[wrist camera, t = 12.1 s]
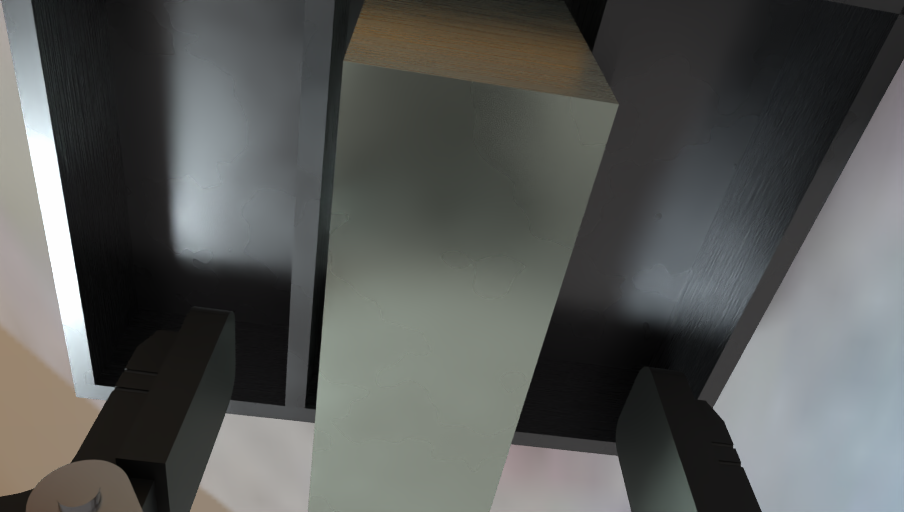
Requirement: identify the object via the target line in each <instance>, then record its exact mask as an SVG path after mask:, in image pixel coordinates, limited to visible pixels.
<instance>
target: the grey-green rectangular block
mask: <svg viewBox="0 0 904 512" xmlns="http://www.w3.org/2000/svg"><path fill="white" fill-rule="evenodd" d="M618 106H619V103H618V102H617V100H616V98H615V96H614V94H613V92H612V90H611V88H610V87H609V85H608V83H607V81H606V79H605V77H604V75H603V73H602V72H601V70H600V68H599V66H598V64H597V62H596V60H595V58H594V56H593V55H592V53H591V51H590V49H589V47H588V45H587V43H586V41H585V40H584V38H583V36H582V34H581V32H580V30H579V28H578V26H577V25H576V23H575V21H574V19H573V17H572V15H571V13H570V11H569V10H568V8H567V6H566V4H565V2H564V0H365V1H364V4H363V7H362V9H361V12H360V15H359V18H358V21H357V24H356V26H355V29H354V32H353V35H352V38H351V40H350V43H349V46H348V49H347V52H346V55H345V57H344V60H343V70H342V83H341V95H340V108H339V121H338V134H337V147H336V159H335V172H334V185H333V198H332V211H331V223H330V236H329V249H328V262H327V274H326V287H325V300H324V313H323V326H322V338H321V351H320V364H319V377H318V389H317V402H316V415H315V428H314V441H313V453H312V466H311V479H310V492H309V504H308V512H490V508H491V505H492V502H493V499H494V496H495V493H496V490H497V486H498V483H499V480H500V477H501V474H502V471H503V468H504V464H505V461H506V458H507V455H508V452H509V449H510V445H511V442H512V439H513V436H514V433H515V430H516V427H517V423H518V420H519V417H520V414H521V411H522V408H523V405H524V401H525V398H526V395H527V392H528V389H529V386H530V383H531V379H532V376H533V373H534V370H535V367H536V364H537V361H538V357H539V354H540V351H541V348H542V345H543V342H544V339H545V335H546V332H547V329H548V326H549V323H550V320H551V317H552V313H553V310H554V307H555V304H556V301H557V298H558V294H559V291H560V288H561V285H562V282H563V279H564V276H565V272H566V269H567V266H568V263H569V260H570V257H571V254H572V250H573V247H574V244H575V241H576V238H577V235H578V232H579V228H580V225H581V222H582V219H583V216H584V213H585V210H586V206H587V203H588V200H589V197H590V194H591V191H592V188H593V184H594V181H595V178H596V175H597V172H598V169H599V166H600V162H601V159H602V156H603V153H604V150H605V147H606V143H607V140H608V137H609V134H610V131H611V128H612V125H613V121H614V118H615V115H616V112H617V109H618Z"/></svg>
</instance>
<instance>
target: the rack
mask: <svg viewBox="0 0 904 512" xmlns="http://www.w3.org/2000/svg"><path fill="white" fill-rule="evenodd" d="M1 1H2V6H3V12H4V17H5V22H6V27H7V33H8V38H9V43H10V49H11V54H12V59H13V64H14V70H15V75H16V80H17V86H18V91H19V96H20V101H21V107H22V112H23V117H24V123H25V128H26V133H27V138H28V144H29V149H30V154H31V160H32V165H33V170H34V175H35V181H36V186H37V191H38V197H39V202H40V207H41V212H42V218H43V223H44V228H45V234H46V239H47V244H48V249H49V255H50V260H51V265H52V270H53V276H54V281H55V286H56V292H57V297H58V302H59V307H60V313H61V318H62V323H63V329H64V334H65V339H66V344H67V350H68V355H69V360H70V366H71V371H72V376H73V381H74V387H75V392H76V397H81V398H90V399H100V400H107V399H108V397H109V396H110V394H111V392H112V391H114V389H115V385H116V383H117V381H118V380H119V378H120V376H121V374H122V373H124V371H125V367H126V365H127V364H128V362H129V360H130V358H131V357H132V355H133V353H134V351H135V349H136V348H137V347H138V346H139V345H140V344H141V343H143V342H144V341H145V340H146V339H148V338H149V337H150V336H152V335H153V334H154V333H155V332H157V331H158V330H166V331H174V332H179V330H180V328H181V326H182V324H183V322H184V320H185V318H186V316H187V314H188V312H189V311H190V309H191V308H192V307H194V306H196V307H203V308H211V309H219V310H226V311H233V312H234V315H235V380H234V386H233V391H232V395H231V399H230V402H229V405H228V408H227V411H226V413H229V414H238V415H247V416H256V417H266V418H275V419H284V420H293V421H302V422H312V423H315V415H316V402H317V389H318V377H319V364H320V351H321V338H322V326H323V313H324V300H325V287H326V274H327V262H328V249H329V236H330V223H331V211H332V198H333V185H334V172H335V159H336V147H337V134H338V121H339V108H340V95H341V83H342V70H343V60H344V57H345V55H346V52H347V49H348V46H349V43H350V40H351V38H352V35H353V32H354V29H355V26H356V24H357V21H358V18H359V15H360V12H361V9H362V7H363V4H364V1H365V0H1ZM564 2H565V4H566V6H567V8H568V10H569V11H570V13H571V15H572V17H573V19H574V21H575V23H576V25H577V26H578V28H579V30H580V32H581V34H582V36H583V38H584V40H585V41H586V43H587V45H588V47H589V49H590V51H591V53H592V55H593V56H594V58H595V60H596V62H597V64H598V66H599V68H600V70H601V72H602V73H603V75H604V77H605V79H606V81H607V83H608V85H609V87H610V88H611V90H612V92H613V94H614V96H615V98H616V100H617V102H618V103H619V106H618V109H617V112H616V115H615V118H614V121H613V125H612V128H611V131H610V134H609V137H608V140H607V143H606V147H605V150H604V153H603V156H602V159H601V162H600V166H599V169H598V172H597V175H596V178H595V181H594V184H593V188H592V191H591V194H590V197H589V200H588V203H587V206H586V210H585V213H584V216H583V219H582V222H581V225H580V228H579V232H578V235H577V238H576V241H575V244H574V247H573V250H572V254H571V257H570V260H569V263H568V266H567V269H566V272H565V276H564V279H563V282H562V285H561V288H560V291H559V294H558V298H557V301H556V304H555V307H554V310H553V313H552V317H551V320H550V323H549V326H548V329H547V332H546V335H545V339H544V342H543V345H542V348H541V351H540V354H539V357H538V361H537V364H536V367H535V370H534V373H533V376H532V379H531V383H530V386H529V389H528V392H527V395H526V398H525V401H524V405H523V408H522V411H521V414H520V417H519V420H518V423H517V427H516V430H515V433H514V436H513V439H512V442H511V444H514V445H524V446H533V447H542V448H551V449H561V450H570V451H579V452H588V453H597V454H607V455H616V456H618V453H617V449H616V428H617V423H618V419H619V416H620V414H621V412H622V410H623V407H624V405H625V403H626V400H627V398H628V396H629V394H630V391H631V389H632V387H633V384H634V382H635V380H636V378H637V375H638V373H639V371H640V370H641V369H642V368H643V367H652V368H660V369H668V370H675V371H681V372H683V373H684V375H685V376H686V378H687V381H688V383H689V386H690V388H691V391H692V394H693V396H694V399H698V400H705V401H707V403H708V404H709V405H710V406H711V407H712V408H713V406H714V405H715V403H716V401H717V399H718V397H719V395H720V394H721V392H722V390H723V388H724V386H725V384H726V383H727V381H728V379H729V377H730V375H731V373H732V372H733V370H734V368H735V366H736V364H737V363H738V361H739V359H740V357H741V355H742V353H743V352H744V350H745V348H746V346H747V344H748V342H749V341H750V339H751V337H752V335H753V333H754V331H755V330H756V328H757V326H758V324H759V322H760V320H761V319H762V317H763V315H764V313H765V311H766V309H767V308H768V306H769V304H770V302H771V300H772V299H773V297H774V295H775V293H776V291H777V289H778V288H779V286H780V284H781V282H782V280H783V278H784V277H785V275H786V273H787V271H788V269H789V267H790V266H791V264H792V262H793V260H794V258H795V256H796V255H797V253H798V251H799V249H800V247H801V246H802V244H803V242H804V240H805V238H806V236H807V235H808V233H809V231H810V229H811V227H812V225H813V224H814V222H815V220H816V218H817V216H818V214H819V213H820V211H821V209H822V207H823V205H824V203H825V202H826V200H827V198H828V196H829V194H830V192H831V191H832V189H833V187H834V185H835V183H836V182H837V180H838V178H839V176H840V174H841V172H842V171H843V169H844V167H845V165H846V163H847V161H848V160H849V158H850V156H851V154H852V152H853V150H854V149H855V147H856V145H857V143H858V141H859V139H860V138H861V136H862V134H863V132H864V130H865V129H866V127H867V125H868V123H869V121H870V119H871V118H872V116H873V114H874V112H875V110H876V108H877V107H878V105H879V103H880V101H881V99H882V97H883V96H884V94H885V92H886V90H887V88H888V86H889V85H890V83H891V81H892V79H893V77H894V75H895V74H896V72H897V70H898V68H899V66H900V65H901V63H902V61H903V59H904V0H564Z"/></svg>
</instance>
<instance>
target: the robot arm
mask: <svg viewBox="0 0 904 512" xmlns="http://www.w3.org/2000/svg"><path fill="white" fill-rule="evenodd" d="M234 380H235V315H234V312H233V311H226V310H219V309H211V308H203V307H196V306H194V307H192V308H191V309H190V311H189V312H188V314H187V316H186V318H185V320H184V322H183V324H182V326H181V328H180V330H179V332H174V331H166V330H158V331H157V332H155V333H154V334H153V335H152V336H150V337H149V338H148V339H146V340H145V341H144V342H143V343H141V344H140V345H139V346H138V347H137V348H136V349H135V351H134V353H133V355H132V357H131V358H130V360H129V362H128V364H127V365H126V367H125V371H124V373H122V374H121V376H120V378H119V380H118V381H117V383H116V385H115V389H114V391H112V392H111V394H110V396H109V397H108V399H107V401H106V403H105V404H104V406H103V408H102V410H101V412H100V413H99V415H98V417H97V419H96V421H95V422H94V424H93V426H92V428H91V429H90V431H89V433H88V435H87V436H86V438H85V440H84V442H83V444H82V445H81V447H80V449H79V451H78V452H77V454H76V456H75V457H74V459H73V460H72V462H71V463H70V464H67V465H65V466H62V467H60V468H58V469H57V470H55V471H53V472H51V473H50V474H48V475H47V476H46V477H44V478H43V479H42V480H41V481H40V482H39V483H38V484H37V485H36V487H35V488H34V489H31V490H28V491H25V492H22V493H18V494H13V495H8V496H2V497H0V512H190V509H191V506H192V504H193V501H194V498H195V496H196V493H197V490H198V487H199V485H200V482H201V479H202V476H203V474H204V471H205V468H206V465H207V463H208V460H209V457H210V454H211V452H212V449H213V446H214V443H215V441H216V438H217V435H218V432H219V430H220V427H221V424H222V422H223V419H224V416H225V413H226V411H227V408H228V405H229V402H230V399H231V395H232V391H233V386H234ZM616 449H617V453H618V457H619V462H620V466H621V470H622V474H623V478H624V482H625V487H626V491H627V495H628V499H629V503H630V507H631V512H762V511H761V509H760V507H759V504H758V502H757V499H756V497H755V495H754V492H753V490H752V487H751V485H750V483H749V480H748V478H747V475H746V473H745V471H744V468H743V467H741V461H740V459H739V456H738V454H737V452H736V449H733V442H732V440H731V437H730V435H729V432H728V430H727V428H726V425H725V423H724V421H723V420H722V419H721V418H720V416H719V415H718V414H717V413H716V412H715V411H714V410H713V408H712V407H711V406H710V405H709V404H708V403H707V401H705V400H698V399H694V396H693V394H692V391H691V388H690V386H689V383H688V381H687V378H686V376H685V375H684V373H683V372H681V371H675V370H668V369H660V368H652V367H643V368H642V369H641V370H640V371H639V373H638V375H637V378H636V380H635V382H634V384H633V387H632V389H631V391H630V394H629V396H628V398H627V400H626V403H625V405H624V407H623V410H622V412H621V414H620V416H619V419H618V423H617V428H616Z"/></svg>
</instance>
